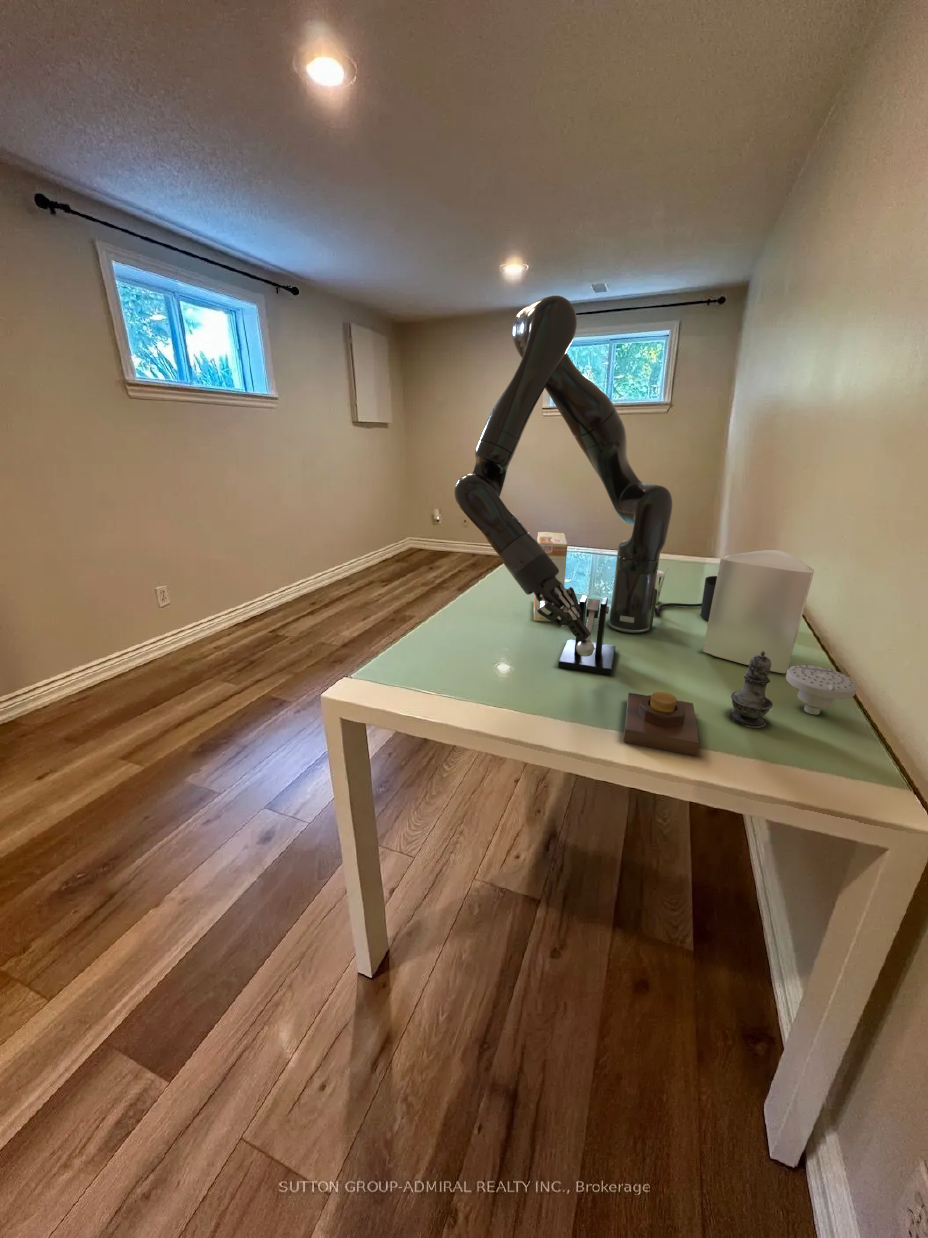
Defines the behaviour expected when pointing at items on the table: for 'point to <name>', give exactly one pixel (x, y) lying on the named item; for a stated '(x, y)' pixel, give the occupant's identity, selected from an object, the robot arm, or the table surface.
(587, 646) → the lever
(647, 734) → the button block
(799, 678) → the showerhead
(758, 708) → the salt shaker
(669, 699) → the button
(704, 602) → the pen holder
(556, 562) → the coffeecake box
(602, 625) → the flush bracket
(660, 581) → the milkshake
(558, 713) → the table surface
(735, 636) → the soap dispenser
